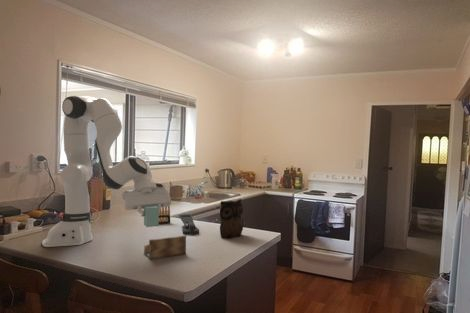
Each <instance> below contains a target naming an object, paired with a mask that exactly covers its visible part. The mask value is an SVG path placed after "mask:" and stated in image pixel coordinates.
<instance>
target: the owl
mask: <svg viewBox="0 0 470 313" xmlns="http://www.w3.org/2000/svg"><path fill="white" fill-rule="evenodd" d="M219 205H220V208H219V217H220V218H219V219H220V223H219V224H220V225H219V233H220V238H221V239H222V240H224V239H226V240H230V239H235V238H236V239H237V238H240V237H241V236H242V232H243V229H244V226H245V224H244V219H243V218H242V216H243V213H244V206H243V204H242V198H238V199H229V200H225V201H224V200H221V201H220V204H219Z"/></svg>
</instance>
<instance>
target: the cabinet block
mask: <svg viewBox="0 0 470 313" xmlns="http://www.w3.org/2000/svg"><path fill="white" fill-rule="evenodd" d="M143 211H145V216H143V226H145V227H146V228H152V227H159V225H160V224H159V215H158V207H157V206H144V209H143Z"/></svg>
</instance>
